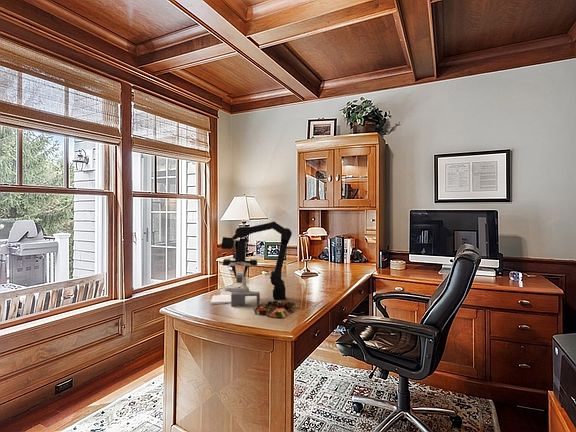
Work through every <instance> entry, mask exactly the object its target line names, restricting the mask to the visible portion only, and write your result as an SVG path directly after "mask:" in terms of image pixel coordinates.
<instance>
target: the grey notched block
mask: <svg viewBox="0 0 576 432" xmlns="http://www.w3.org/2000/svg"><path fill="white" fill-rule="evenodd" d="M230 293H231V294H230V295H231V304H230V306H231V307H245V306H246V297H256V307H257V306H258V305H259V306H260V304H261V302H260V301H261V295H260V291H247V292H230ZM260 307H261V306H260Z"/></svg>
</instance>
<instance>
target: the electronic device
mask: <svg viewBox="0 0 576 432" xmlns="http://www.w3.org/2000/svg"><path fill="white" fill-rule="evenodd" d="M246 279H247V278H246V274H245V277H244V279H243V281H242V285H241V286H239V285H238V286H237V285H228V286H224V292H227V291H230V292H229V293H232V292H250V287H249V286H248V285H247V280H246Z"/></svg>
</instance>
